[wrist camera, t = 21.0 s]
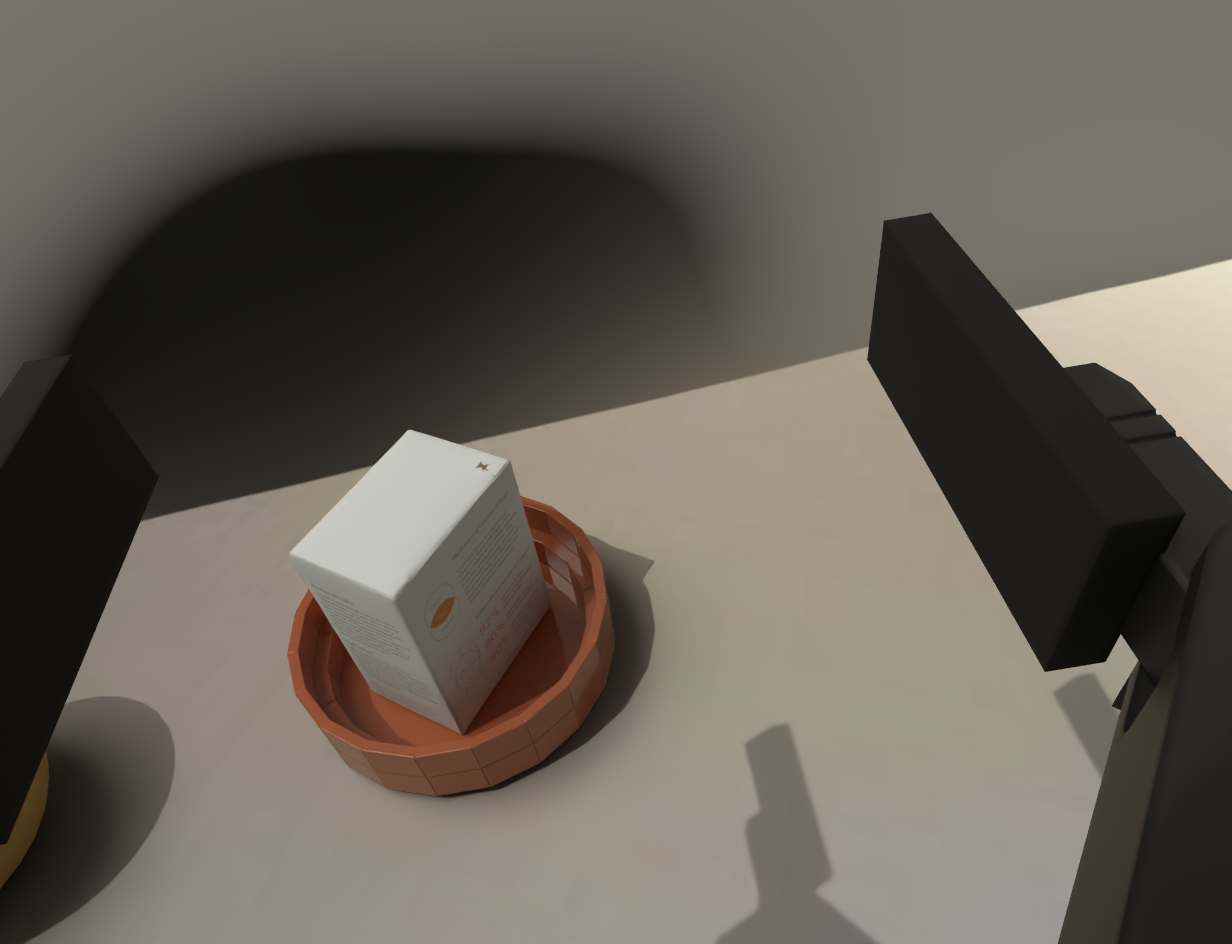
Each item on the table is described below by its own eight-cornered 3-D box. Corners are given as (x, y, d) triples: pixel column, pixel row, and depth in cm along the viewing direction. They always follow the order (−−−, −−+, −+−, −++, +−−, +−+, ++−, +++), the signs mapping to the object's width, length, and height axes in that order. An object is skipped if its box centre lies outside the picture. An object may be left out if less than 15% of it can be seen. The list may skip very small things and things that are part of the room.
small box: (466, 572, 44) (409, 423, 36) (555, 606, 41) (513, 455, 34) (369, 694, 39) (281, 551, 32) (463, 740, 37) (392, 598, 29)
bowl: (598, 522, 46) (588, 471, 43) (634, 768, 35) (624, 722, 33) (340, 566, 46) (313, 517, 43) (299, 826, 35) (260, 784, 33)
